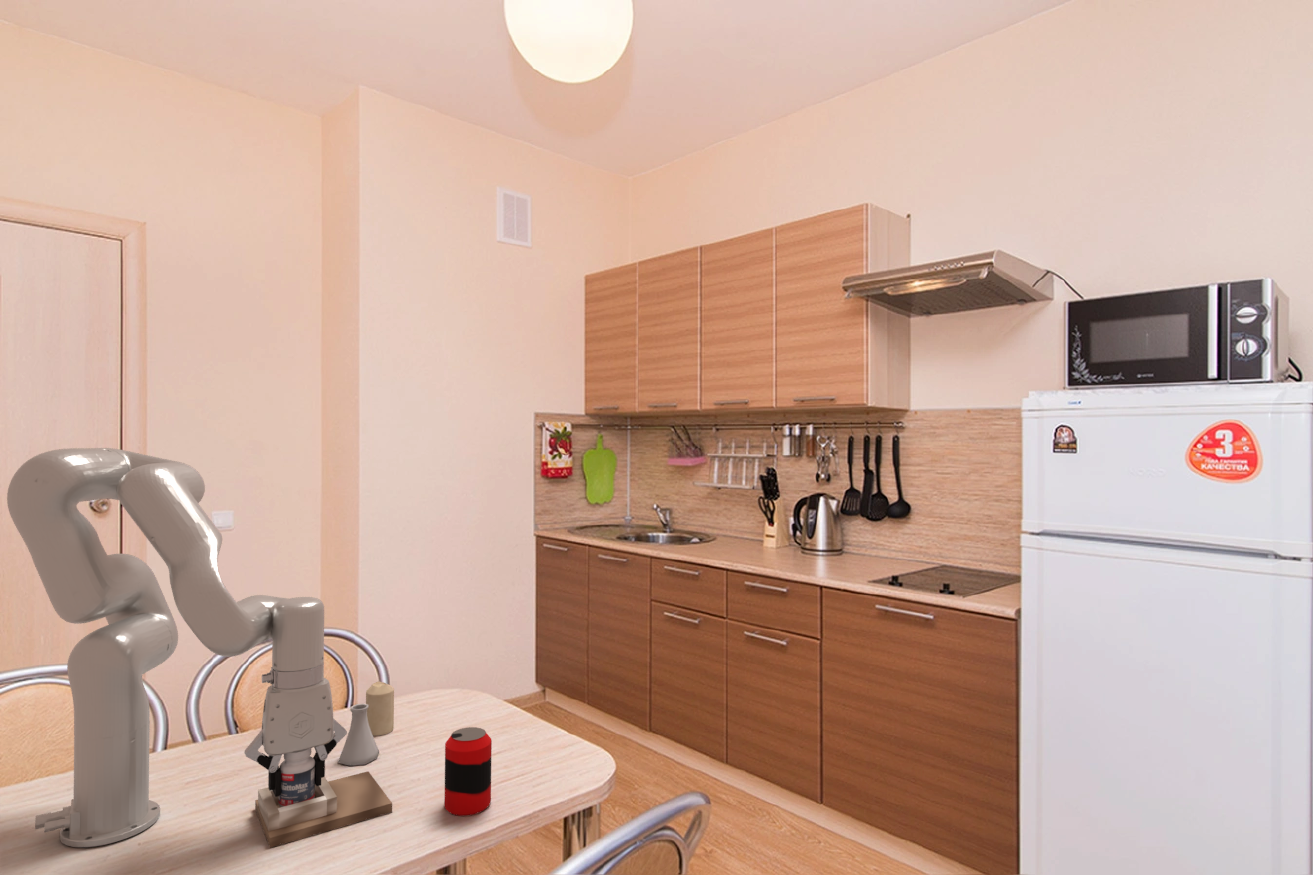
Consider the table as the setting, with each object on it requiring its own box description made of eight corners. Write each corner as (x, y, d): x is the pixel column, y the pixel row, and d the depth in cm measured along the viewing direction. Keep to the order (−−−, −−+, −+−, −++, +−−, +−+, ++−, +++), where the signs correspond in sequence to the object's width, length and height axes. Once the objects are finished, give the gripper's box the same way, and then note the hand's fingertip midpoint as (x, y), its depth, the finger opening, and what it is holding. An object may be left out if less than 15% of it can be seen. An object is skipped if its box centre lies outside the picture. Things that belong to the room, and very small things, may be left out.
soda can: (441, 799, 124) (442, 728, 124) (486, 790, 127) (487, 722, 127) (447, 820, 117) (448, 746, 117) (494, 811, 120) (495, 738, 120)
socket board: (269, 847, 109) (270, 821, 109) (255, 809, 120) (255, 784, 120) (392, 811, 120) (392, 787, 120) (368, 779, 131) (368, 757, 131)
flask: (385, 751, 143) (386, 700, 143) (367, 767, 136) (368, 714, 136) (350, 749, 143) (351, 698, 143) (330, 765, 136) (331, 712, 136)
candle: (399, 729, 153) (399, 682, 153) (376, 738, 149) (377, 689, 149) (382, 723, 156) (382, 677, 156) (359, 732, 152) (360, 684, 152)
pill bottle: (274, 812, 114) (275, 755, 114) (282, 796, 119) (282, 742, 119) (311, 808, 116) (312, 752, 116) (317, 792, 121) (318, 739, 121)
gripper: (240, 693, 109) (239, 813, 109) (359, 672, 120) (358, 782, 120) (234, 679, 115) (232, 793, 115) (347, 660, 126) (346, 765, 126)
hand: (296, 786), depth 118 cm, fingers closed on pill bottle, 5 cm apart
